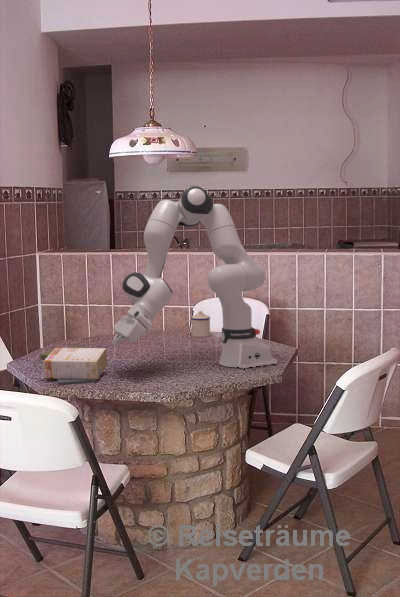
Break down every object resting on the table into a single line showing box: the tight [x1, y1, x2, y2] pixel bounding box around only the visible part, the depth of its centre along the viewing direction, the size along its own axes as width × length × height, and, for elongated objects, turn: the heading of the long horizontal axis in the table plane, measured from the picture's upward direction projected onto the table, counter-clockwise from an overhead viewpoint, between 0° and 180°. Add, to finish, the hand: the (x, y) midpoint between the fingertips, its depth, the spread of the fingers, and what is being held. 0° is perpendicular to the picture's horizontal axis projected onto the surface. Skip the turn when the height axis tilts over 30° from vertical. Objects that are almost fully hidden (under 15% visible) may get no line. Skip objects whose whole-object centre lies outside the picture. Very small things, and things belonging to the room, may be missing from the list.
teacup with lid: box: [184, 310, 211, 338], centre depth 347 cm, size 12×9×12 cm
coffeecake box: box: [43, 347, 108, 380], centre depth 269 cm, size 15×7×20 cm
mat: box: [55, 378, 97, 386], centre depth 267 cm, size 13×16×1 cm
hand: (113, 345), depth 268 cm, fingers closed
